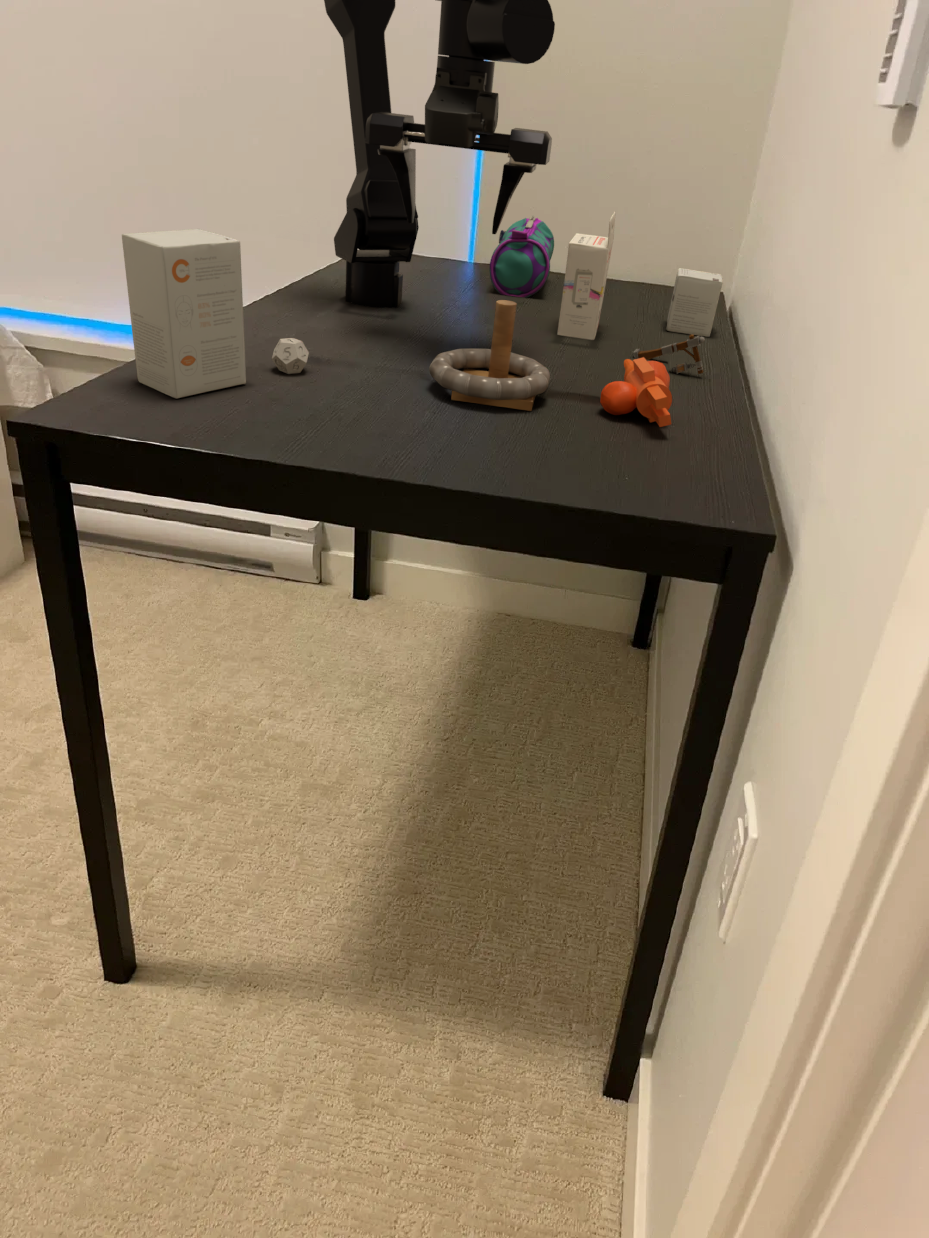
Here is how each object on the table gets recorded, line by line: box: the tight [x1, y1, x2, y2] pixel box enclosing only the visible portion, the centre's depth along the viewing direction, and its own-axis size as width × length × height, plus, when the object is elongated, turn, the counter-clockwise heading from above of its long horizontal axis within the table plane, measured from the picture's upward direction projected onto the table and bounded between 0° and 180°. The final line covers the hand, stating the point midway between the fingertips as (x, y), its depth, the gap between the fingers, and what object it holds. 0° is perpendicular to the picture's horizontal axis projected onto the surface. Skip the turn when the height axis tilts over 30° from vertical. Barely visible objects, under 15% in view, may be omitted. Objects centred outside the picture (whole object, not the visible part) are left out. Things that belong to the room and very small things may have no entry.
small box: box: [121, 228, 247, 399], centre depth 81 cm, size 8×6×13 cm
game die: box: [271, 337, 310, 375], centre depth 89 cm, size 4×4×3 cm
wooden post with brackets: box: [633, 334, 706, 375], centre depth 103 cm, size 2×8×4 cm, turn 69°
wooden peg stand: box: [450, 299, 537, 412], centre depth 88 cm, size 8×8×9 cm
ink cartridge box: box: [556, 211, 616, 341], centre depth 109 cm, size 9×5×15 cm, turn 168°
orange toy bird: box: [599, 357, 673, 428], centre depth 87 cm, size 5×8×12 cm
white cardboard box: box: [665, 267, 724, 338], centre depth 121 cm, size 6×6×7 cm
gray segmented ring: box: [428, 348, 551, 400], centre depth 89 cm, size 12×12×2 cm
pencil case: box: [488, 215, 555, 299], centre depth 133 cm, size 21×9×10 cm, turn 174°
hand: (452, 228), depth 96 cm, fingers open, 9 cm apart
